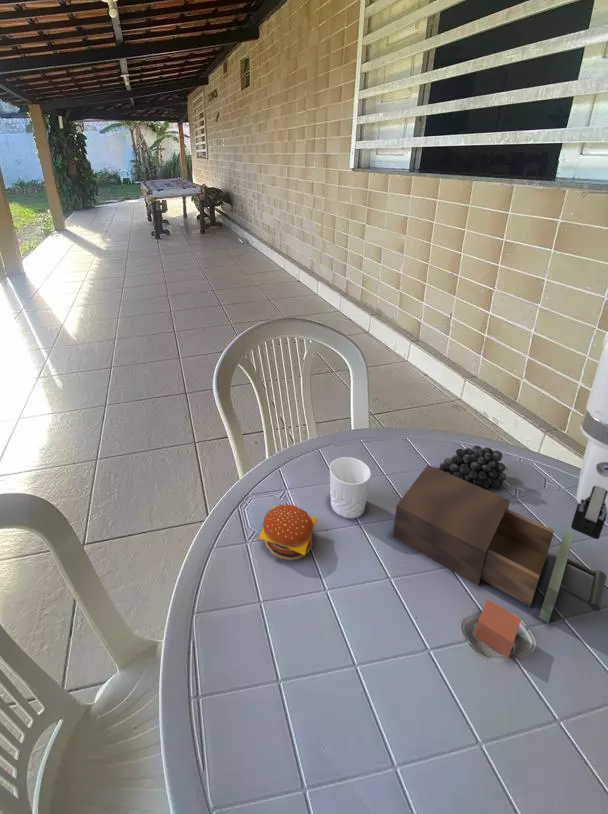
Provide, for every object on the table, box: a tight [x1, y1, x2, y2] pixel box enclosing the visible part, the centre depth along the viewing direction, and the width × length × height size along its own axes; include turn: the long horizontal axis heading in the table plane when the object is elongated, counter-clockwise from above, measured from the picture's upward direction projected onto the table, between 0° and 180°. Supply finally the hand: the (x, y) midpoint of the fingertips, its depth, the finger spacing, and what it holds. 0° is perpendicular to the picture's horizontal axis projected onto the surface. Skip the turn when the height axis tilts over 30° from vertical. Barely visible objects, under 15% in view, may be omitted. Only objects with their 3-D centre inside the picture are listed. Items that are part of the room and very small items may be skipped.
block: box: [474, 598, 522, 659], centre depth 62 cm, size 4×4×4 cm
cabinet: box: [392, 464, 511, 587], centre depth 78 cm, size 15×15×9 cm
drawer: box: [480, 508, 607, 623], centre depth 70 cm, size 18×13×7 cm
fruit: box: [436, 445, 509, 489], centre depth 92 cm, size 9×8×15 cm
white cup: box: [329, 456, 372, 519], centre depth 86 cm, size 8×8×10 cm
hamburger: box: [258, 504, 318, 561], centre depth 80 cm, size 9×10×7 cm
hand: (585, 530), depth 63 cm, fingers closed
